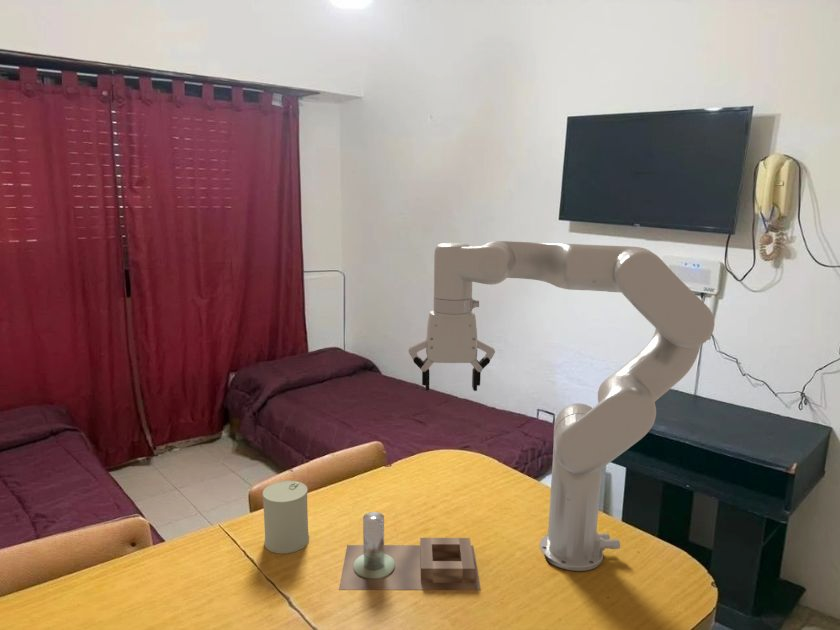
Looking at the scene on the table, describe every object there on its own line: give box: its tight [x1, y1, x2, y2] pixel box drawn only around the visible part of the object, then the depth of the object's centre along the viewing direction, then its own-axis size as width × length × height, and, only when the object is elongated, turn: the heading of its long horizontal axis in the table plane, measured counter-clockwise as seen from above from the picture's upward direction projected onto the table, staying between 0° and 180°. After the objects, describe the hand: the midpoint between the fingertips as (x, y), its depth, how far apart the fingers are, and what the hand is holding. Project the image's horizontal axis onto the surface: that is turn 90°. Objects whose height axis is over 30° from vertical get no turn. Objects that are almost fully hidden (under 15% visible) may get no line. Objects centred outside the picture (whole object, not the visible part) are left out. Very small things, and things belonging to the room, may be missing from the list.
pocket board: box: [338, 537, 481, 591], centre depth 116 cm, size 26×14×4 cm, turn 91°
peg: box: [362, 511, 385, 571], centre depth 115 cm, size 4×4×10 cm
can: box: [262, 480, 310, 555], centre depth 125 cm, size 9×9×12 cm
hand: (450, 388), depth 122 cm, fingers open, 9 cm apart
